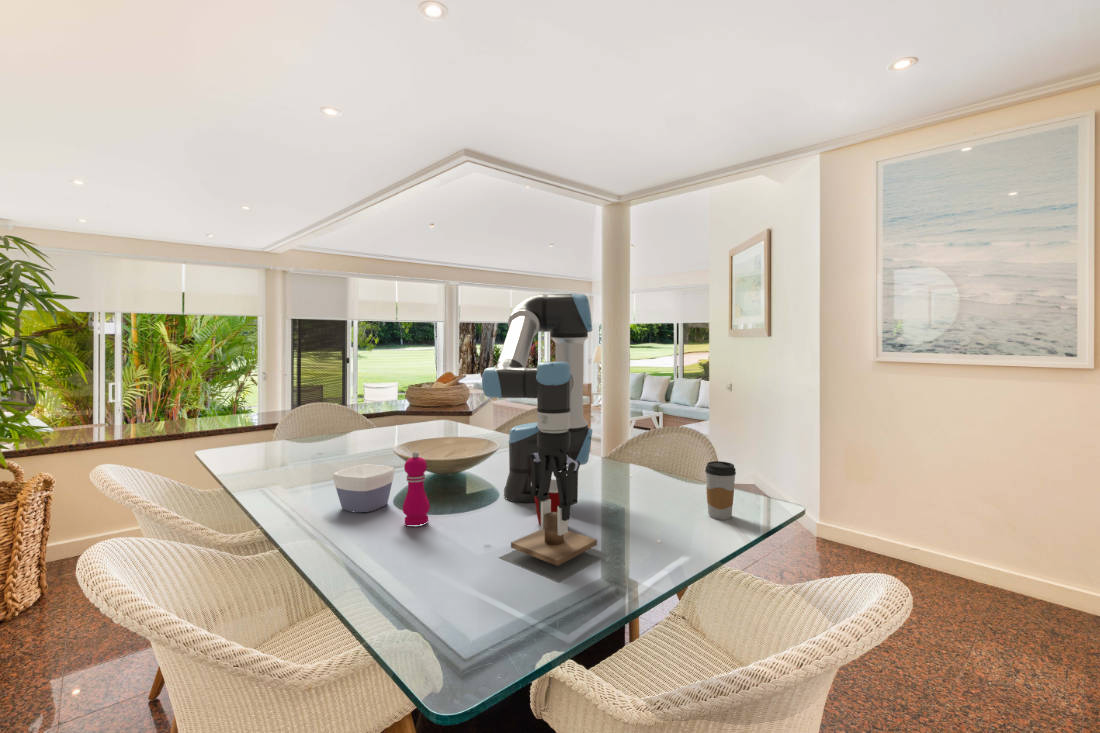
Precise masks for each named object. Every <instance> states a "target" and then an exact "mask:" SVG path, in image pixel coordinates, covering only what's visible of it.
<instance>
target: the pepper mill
mask: <svg viewBox="0 0 1100 733" xmlns="http://www.w3.org/2000/svg"><path fill="white" fill-rule="evenodd" d="M411 455H412V457H410V458H408V459H406V461H405V463H404V471H405V473H406V474H407V475H406V477H405V478H406V482H407V484H408V487H407V493H406V496H405V499H404V501H403V505H402V512H403V514H404V515H405V517H404V525H405V524H406V525H420V524H424V523H426V522H427V521H428V522H429V515H428V512H429V511H430V508H431V507H430V504H431V503H430V501H429V499H428V495H427V493H426V492H425V491H426V490H425V485H424V484H425V480H426V474H425V472H426V471H427V469H428V464H427V461H426V460H425V459H424V458H423V457H420V456H419V452H418V451H414V452H412V454H411ZM406 525H405V526H406Z"/></svg>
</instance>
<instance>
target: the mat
mask: <svg viewBox="0 0 1100 733" xmlns="http://www.w3.org/2000/svg"><path fill="white" fill-rule="evenodd" d="M607 556H609V553H607V552H605V551H602V550H601V551H600V550H598V549H594V548H593V547H592V548H590V549H588V550H586V551H585V552H583V553H581V554H579V555H577V556H575V557H573V558H572V559H570V560H568V561H566V562H564V563H562V564H560V565H559V566H557V565H554V564H552V563H549V562H546V561H544V560H541V559H539V558H536V557H534V556H531V555H529V554H526V553H523V552H521V551H518V550H516V549H514V550H512V551H511V552H508V553H506V554H503V555H500V556H499V557H498V559H500V560H502V561H505V562H507V563H510V564H512V565H514V566H517V567H520V568H522V569H525V570H526V571H529V572H531V573H534V574H537V575H540V576H541V577H545V578H546V579H549V580H552V581H553V582H554V581H555V583H561V582H563V581H564V580H566V579H567V578H570V577H571V576H574V575H575V574H577V573H578V572H580V571H582V570H584V569H585V568H587V567H590V566H591V565H592V564H594V563H596V562H598V561H600V560H601V559H603V558H605V557H607Z"/></svg>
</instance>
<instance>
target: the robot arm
mask: <svg viewBox="0 0 1100 733" xmlns="http://www.w3.org/2000/svg"><path fill="white" fill-rule="evenodd" d="M508 317H509V318H508V321H507V326H508V330H507V334H506V337H505V339H504V342H503V346H502V348H501V351H500V355H499V356H498V360H497V363H496V366H492V367H487V368H485V369H484V370H483V373H482V379H481V387H482V392H483V395H484V396H485V397H487V398H496V399H537V403H536V404H537V409H536V413H537V414H536V416H537V417H536V418H537V420H536V422H528V423H523V424H519V425H515V426H513V427H511V428H510V430H509V433H508V434H509V435H508V456H509V457H508V459H509V460H508V463H509V464H508V466H509V469H508V470H509V471H508V476H507V480H506V483H505V486H504V487H503V488H504V489H503V496H505V497H504V498H505V499H506V498H507V499H506V500H508V499H509V501H511V500H512V502H515V501H516V503H535V498H534V496H536V497H537V498H538V500H539V513H540V514H541V526H540V530H541V529H542V530H545V514H547V513H550V512H551V499H547V498H549V497H550V496H549V495H548V494H549V488H550V483H551V479H552V476H554V477H555V480H556V482H557V488H558V494H559V500H560V505H558V507H557V529H558V535H559V536H561V535H563V534H565V533H567V532H568V531H569V530H568V529H569V526H568V525H569V524H568V523H569V521H568V520H570V519H571V507H572V506H573V505H575V504H578V502H579V501H578V492H579V469H580V466H582V465H586V464H587V463H588V462H589V459H590V458H589V457H590V452H591V446H592V445H591V444H592V437H593V428H590V427H589V424H588V421H587V420H586V419H585V418H584V342H585V341H586V340H587V339H588V338H589V333H590V332H592V331H593V323H592V322H593V320H592V314H591V307H590V301H589V297H588V296H587V295H586V294H581V293H554V294H553V293H552V294H549V293H548V294H545V293H544V294H543V293H542V294H540V293H539V294H534V295H531V296H529V297H528V298H525V299H524V300H522V301H521V302H519V303H518V305H516V306H515V307H514V309H513V310H512V311H511V313H510V315H509V316H508ZM540 332H542V333H544V332H546V333H550V339H551V340H552V341H553V342H554V343H555V361H541V362H539V363H538V364H537V366H536V367H527V364H528V361H529V357H530V353H531V348H532V345H533V341H534V337H535V336H536V335H537V334H538V333H540ZM531 484H532V487H531Z"/></svg>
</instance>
